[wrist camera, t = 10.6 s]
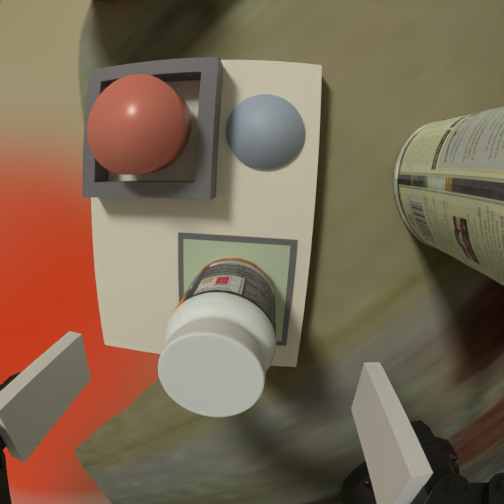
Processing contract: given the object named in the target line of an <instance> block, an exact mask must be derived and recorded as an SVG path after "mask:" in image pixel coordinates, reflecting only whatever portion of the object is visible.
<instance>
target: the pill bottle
mask: <svg viewBox="0 0 504 504" xmlns="http://www.w3.org/2000/svg"><path fill="white" fill-rule="evenodd" d="M275 308H276V306H275V295H274V288H273V285H272V282H271V280H270V278H269V276H268V275H267V273H266V272H265V271H264V270H263V269H262V268H261V267H260V266H259V265H257V264H256V263H254V262H252V261H250V260H248V259H246V258H242V257H236V256H227V257H222V258H218V259H216V260H213V261H211V262H210V263H208V264H207V265H206V266H204V267H203V268H202V269H201V270H200V272H199V273H198V274H197V276H196V277H195V279H194V280H193V281H192V283H191V284H190V286H189V288H188V289H187V291H186V293H185V294H184V296H183V298H182V299H181V301H180V302H179V304H178V305H177V307H176V308H175V310H174V311H173V313H172V315H171V316H170V318H169V320H168V323H167V326H166V330H165V346H164V348H163V350H162V352H161V354H160V358H159V361H158V374H159V379H160V381H161V384H162V386H163V388H164V389H165V391H166V392H167V393H168V395H169V396H170V397H171V398H172V399H173V400H174V401H175V402H176V403H178V404H179V405H181V406H182V407H184V408H185V409H187V410H189V411H192V412H194V413H197V414H200V415H204V416H209V417H227V416H233V415H236V414H239V413H242V412H244V411H246V410H248V409H249V408H250V407H252V406H253V405H254V404H255V403H256V402H257V401H258V399H259V398H260V396H261V394H262V392H263V389H264V385H265V376H266V371H267V370H268V368H269V367H270V365H271V363H272V361H273V358H274V355H275V350H276V322H275V321H276V318H275Z"/></svg>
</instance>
